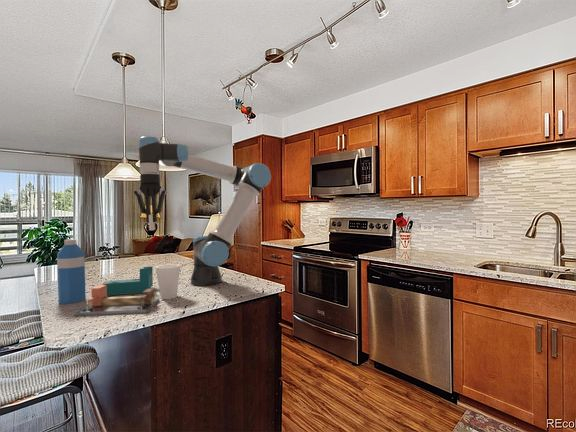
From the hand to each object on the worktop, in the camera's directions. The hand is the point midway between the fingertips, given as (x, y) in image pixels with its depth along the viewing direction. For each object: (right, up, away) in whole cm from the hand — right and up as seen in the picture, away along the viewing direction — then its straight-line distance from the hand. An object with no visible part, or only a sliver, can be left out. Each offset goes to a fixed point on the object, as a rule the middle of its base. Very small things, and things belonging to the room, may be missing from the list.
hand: (152, 230), depth 132 cm
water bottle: (-31, -29, -4) cm, 43 cm away
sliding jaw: (-13, -27, -17) cm, 35 cm away
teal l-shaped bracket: (-14, -29, +9) cm, 33 cm away
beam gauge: (-5, -27, -16) cm, 32 cm away
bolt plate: (-5, -28, -16) cm, 33 cm away
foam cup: (+8, -28, -2) cm, 29 cm away
